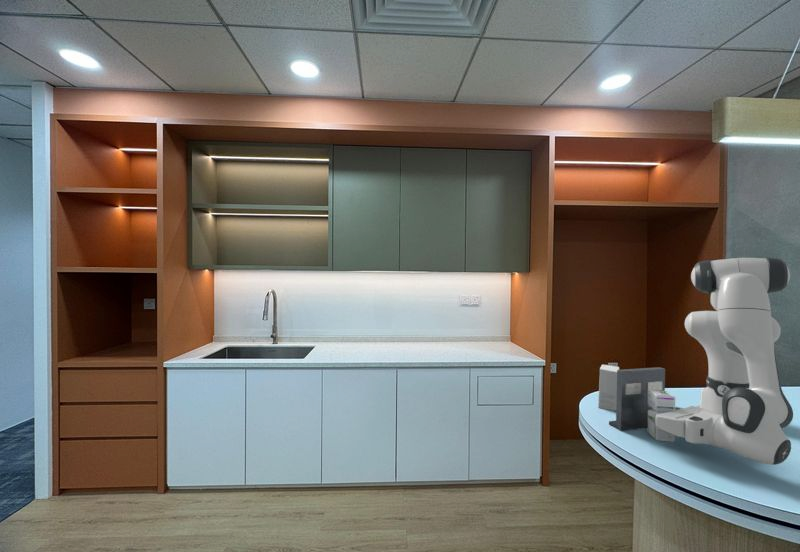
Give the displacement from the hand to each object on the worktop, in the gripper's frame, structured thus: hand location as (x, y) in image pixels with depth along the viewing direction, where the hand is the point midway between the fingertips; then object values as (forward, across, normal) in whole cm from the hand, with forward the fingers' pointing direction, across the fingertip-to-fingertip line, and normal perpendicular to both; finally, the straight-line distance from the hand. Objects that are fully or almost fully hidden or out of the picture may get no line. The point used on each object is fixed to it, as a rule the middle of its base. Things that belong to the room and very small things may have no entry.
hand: (658, 410), depth 116 cm
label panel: (+8, -2, +9) cm, 12 cm away
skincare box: (+24, -9, +9) cm, 27 cm away
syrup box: (-1, 0, +9) cm, 9 cm away
